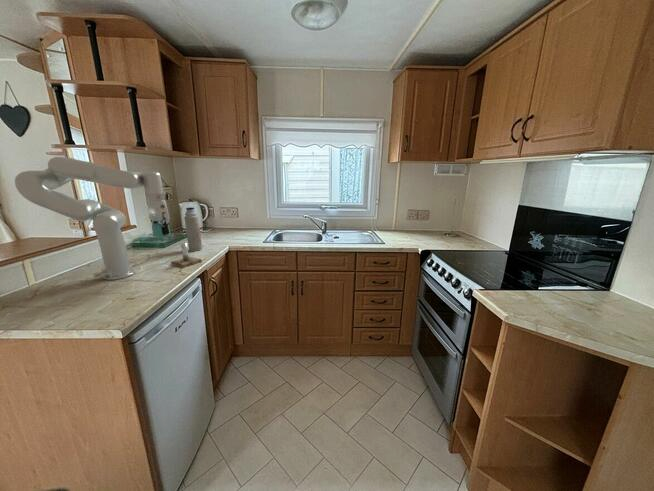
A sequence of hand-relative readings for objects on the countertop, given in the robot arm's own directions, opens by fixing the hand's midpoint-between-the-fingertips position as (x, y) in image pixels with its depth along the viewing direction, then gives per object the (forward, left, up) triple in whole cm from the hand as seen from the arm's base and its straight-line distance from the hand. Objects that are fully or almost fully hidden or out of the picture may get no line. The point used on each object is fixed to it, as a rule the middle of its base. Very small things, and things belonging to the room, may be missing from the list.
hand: (161, 233), depth 134 cm
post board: (+12, +2, -20) cm, 23 cm away
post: (+12, +2, -18) cm, 22 cm away
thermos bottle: (+32, +22, -20) cm, 44 cm away
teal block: (0, 0, -1) cm, 1 cm away
